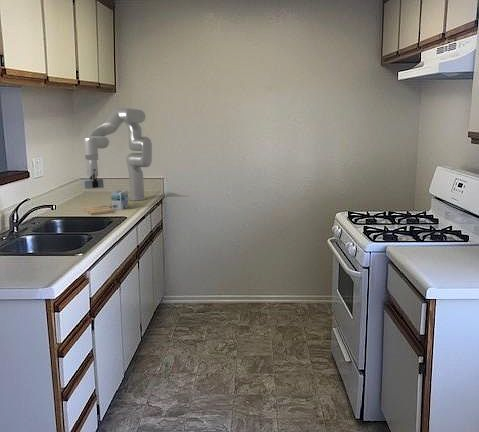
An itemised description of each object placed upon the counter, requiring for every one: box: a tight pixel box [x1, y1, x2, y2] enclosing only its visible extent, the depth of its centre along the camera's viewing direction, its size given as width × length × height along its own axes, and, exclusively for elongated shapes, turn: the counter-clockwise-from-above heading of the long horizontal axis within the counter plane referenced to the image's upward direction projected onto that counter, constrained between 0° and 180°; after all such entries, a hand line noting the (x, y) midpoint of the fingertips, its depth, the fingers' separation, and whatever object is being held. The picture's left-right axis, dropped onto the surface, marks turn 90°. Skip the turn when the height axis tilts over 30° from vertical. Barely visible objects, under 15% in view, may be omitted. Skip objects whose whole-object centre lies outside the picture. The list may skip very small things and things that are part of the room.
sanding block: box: [83, 178, 105, 190], centre depth 340 cm, size 6×11×5 cm, turn 110°
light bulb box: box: [110, 189, 129, 211], centre depth 344 cm, size 11×7×11 cm, turn 168°
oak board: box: [82, 204, 116, 216], centre depth 337 cm, size 22×14×2 cm, turn 27°
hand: (93, 186), depth 341 cm, fingers closed on sanding block, 6 cm apart
